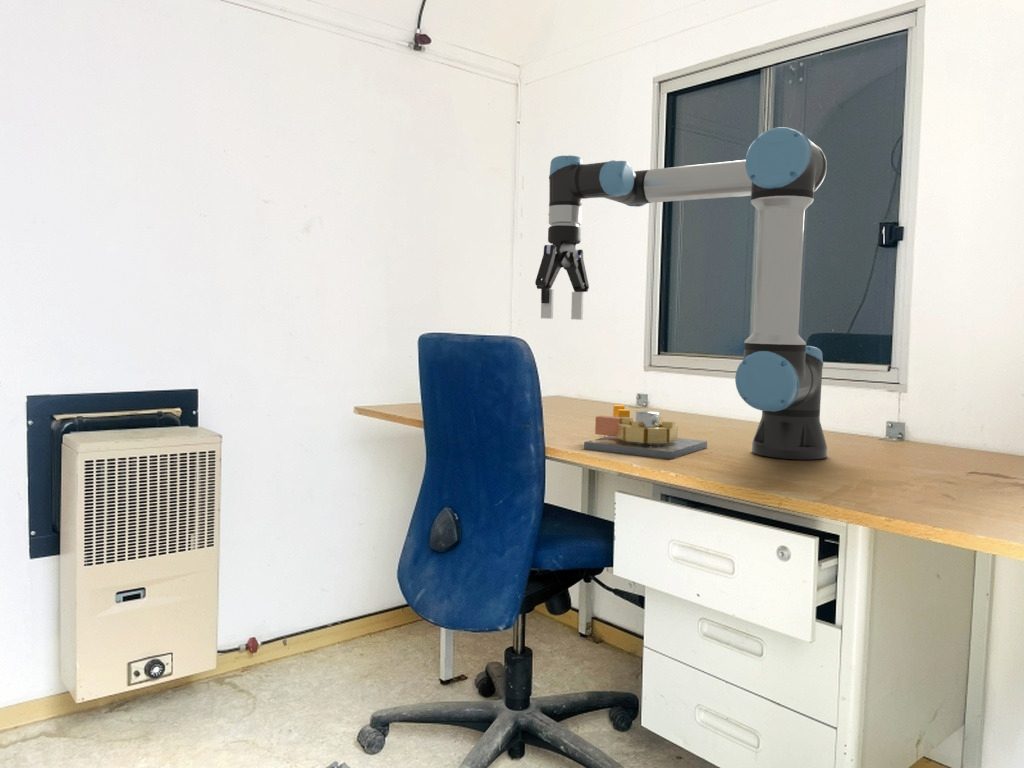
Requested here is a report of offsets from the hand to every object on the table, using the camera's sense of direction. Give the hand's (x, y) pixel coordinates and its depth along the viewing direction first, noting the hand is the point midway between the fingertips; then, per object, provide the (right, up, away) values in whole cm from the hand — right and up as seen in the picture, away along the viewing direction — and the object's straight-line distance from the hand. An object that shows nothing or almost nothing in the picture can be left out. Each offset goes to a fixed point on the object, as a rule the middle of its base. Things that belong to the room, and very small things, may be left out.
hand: (562, 319), depth 186 cm
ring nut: (+15, -27, -9) cm, 32 cm away
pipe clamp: (+15, -28, +15) cm, 35 cm away
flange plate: (+18, -29, -10) cm, 36 cm away
